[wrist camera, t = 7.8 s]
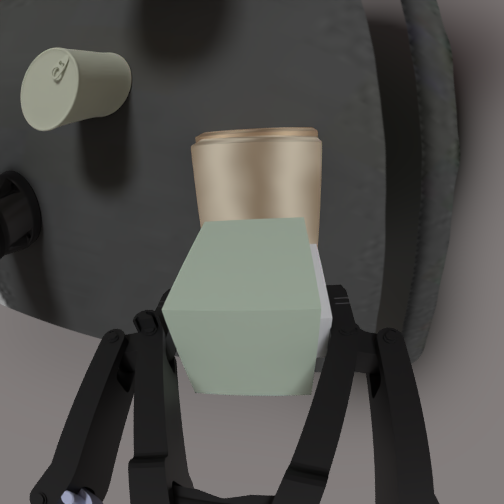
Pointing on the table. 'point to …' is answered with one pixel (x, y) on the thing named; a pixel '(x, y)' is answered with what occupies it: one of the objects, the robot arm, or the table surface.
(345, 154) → the table surface
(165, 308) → the green block
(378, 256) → the table surface
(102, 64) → the can
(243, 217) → the tower top
